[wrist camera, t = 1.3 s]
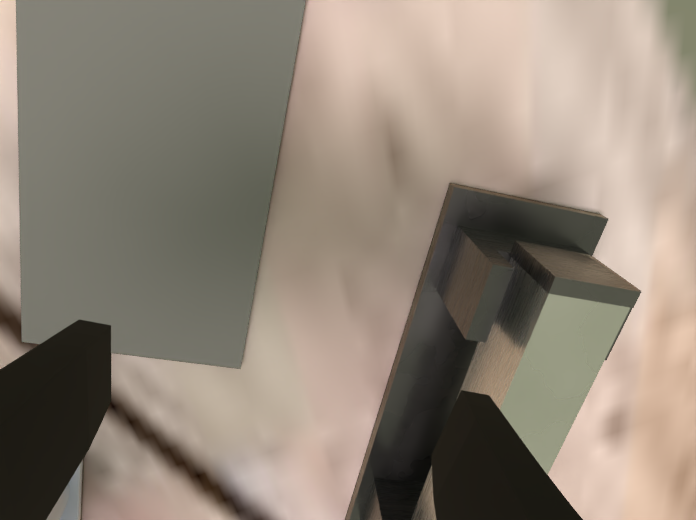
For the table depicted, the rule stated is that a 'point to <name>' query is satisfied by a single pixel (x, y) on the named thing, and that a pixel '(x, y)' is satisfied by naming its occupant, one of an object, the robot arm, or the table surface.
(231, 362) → the pad
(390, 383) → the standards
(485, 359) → the rail
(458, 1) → the table surface
